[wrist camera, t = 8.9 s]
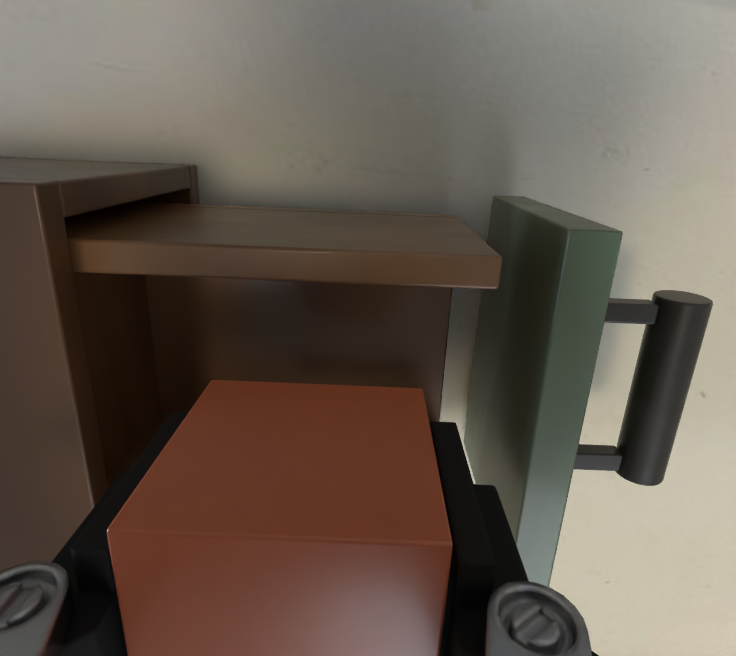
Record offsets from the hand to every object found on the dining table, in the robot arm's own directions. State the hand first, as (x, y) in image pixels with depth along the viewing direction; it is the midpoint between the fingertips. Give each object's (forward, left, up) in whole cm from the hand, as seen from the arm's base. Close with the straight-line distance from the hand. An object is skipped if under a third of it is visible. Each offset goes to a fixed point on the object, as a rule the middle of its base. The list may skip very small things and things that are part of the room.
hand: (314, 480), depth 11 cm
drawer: (0, +1, -10) cm, 10 cm away
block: (0, 0, 0) cm, 0 cm away
